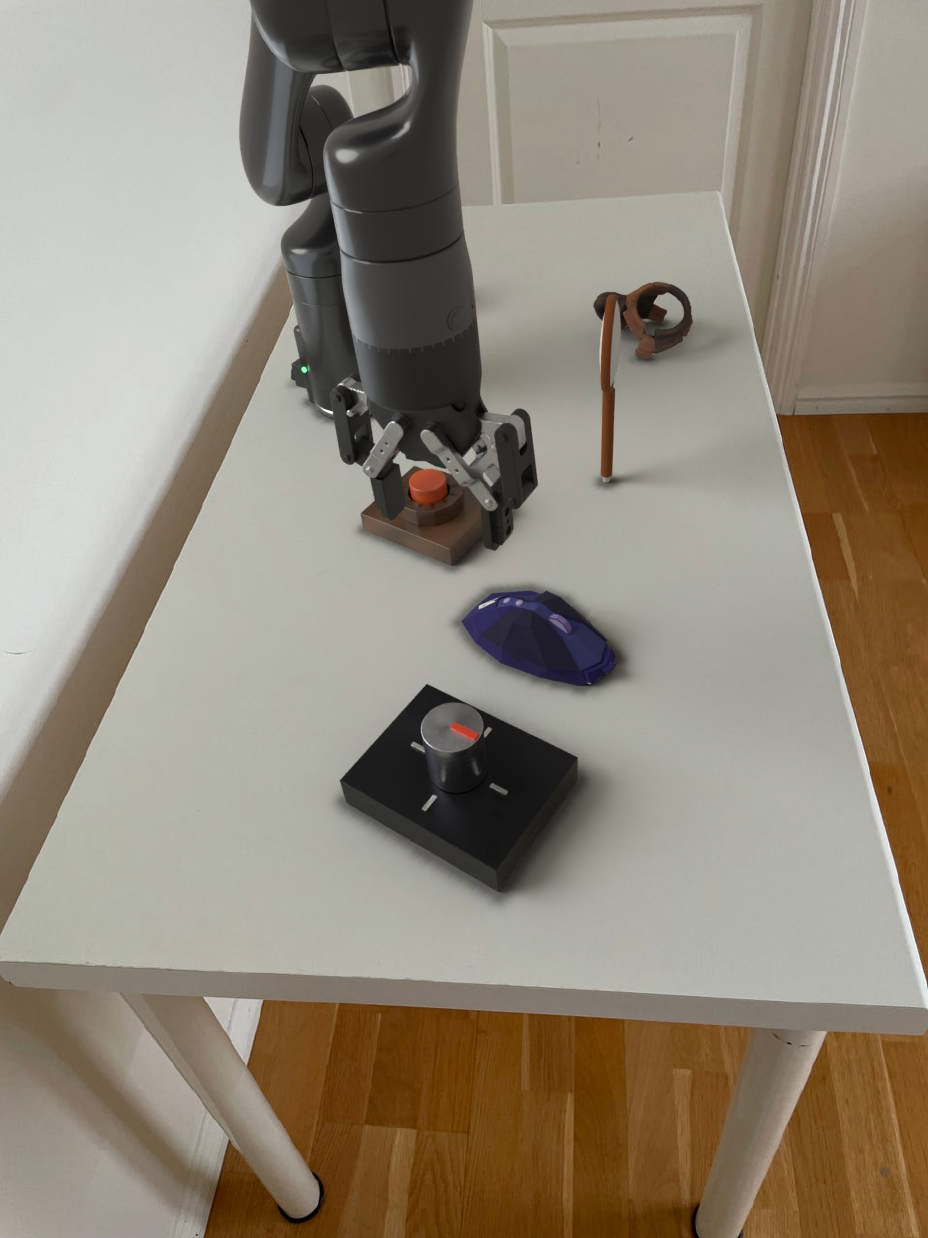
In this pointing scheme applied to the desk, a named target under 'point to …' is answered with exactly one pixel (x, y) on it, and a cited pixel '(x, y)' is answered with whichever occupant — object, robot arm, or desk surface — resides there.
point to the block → (431, 522)
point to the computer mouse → (540, 637)
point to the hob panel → (469, 821)
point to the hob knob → (455, 747)
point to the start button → (428, 486)
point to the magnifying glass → (609, 380)
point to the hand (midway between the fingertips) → (444, 527)
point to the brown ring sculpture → (649, 316)
